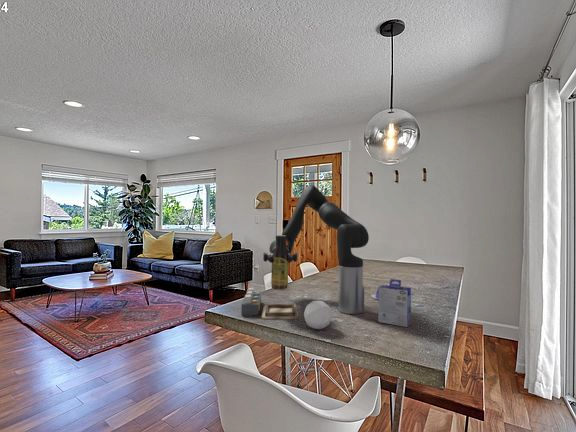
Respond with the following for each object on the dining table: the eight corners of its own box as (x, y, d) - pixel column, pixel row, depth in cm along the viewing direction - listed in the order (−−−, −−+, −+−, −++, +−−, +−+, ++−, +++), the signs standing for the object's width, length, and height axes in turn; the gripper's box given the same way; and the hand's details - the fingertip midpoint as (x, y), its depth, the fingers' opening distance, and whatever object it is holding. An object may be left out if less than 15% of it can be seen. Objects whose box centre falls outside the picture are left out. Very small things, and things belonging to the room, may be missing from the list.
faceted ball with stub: (333, 329, 95) (336, 321, 107) (324, 298, 97) (329, 294, 109) (306, 335, 97) (312, 327, 108) (298, 305, 99) (305, 301, 110)
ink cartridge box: (411, 323, 107) (411, 280, 107) (408, 328, 102) (408, 283, 102) (382, 318, 112) (382, 277, 112) (377, 322, 107) (378, 280, 108)
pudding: (380, 294, 150) (381, 283, 150) (404, 299, 141) (404, 287, 141) (365, 297, 142) (365, 286, 142) (389, 303, 133) (389, 291, 133)
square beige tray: (296, 307, 124) (296, 303, 124) (298, 319, 110) (298, 313, 110) (263, 307, 124) (263, 303, 124) (261, 319, 110) (261, 313, 110)
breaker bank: (261, 302, 132) (261, 287, 132) (258, 315, 114) (259, 297, 114) (246, 302, 132) (246, 287, 132) (241, 315, 114) (241, 297, 114)
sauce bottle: (268, 289, 116) (268, 235, 116) (275, 285, 122) (275, 234, 122) (284, 291, 113) (284, 236, 113) (291, 287, 119) (291, 234, 119)
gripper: (263, 245, 132) (260, 249, 115) (297, 245, 132) (300, 249, 115) (263, 263, 132) (260, 270, 115) (297, 263, 132) (299, 270, 115)
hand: (280, 259), depth 115 cm, fingers closed on sauce bottle, 6 cm apart
